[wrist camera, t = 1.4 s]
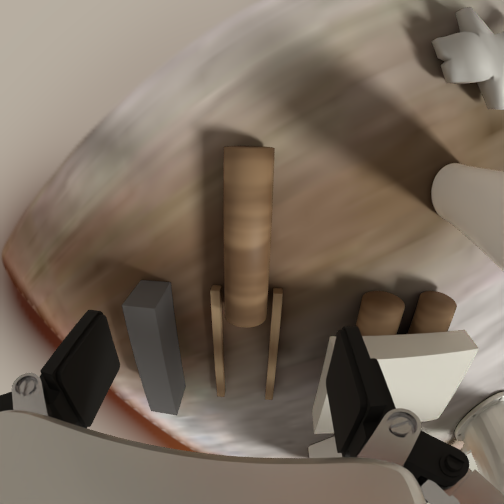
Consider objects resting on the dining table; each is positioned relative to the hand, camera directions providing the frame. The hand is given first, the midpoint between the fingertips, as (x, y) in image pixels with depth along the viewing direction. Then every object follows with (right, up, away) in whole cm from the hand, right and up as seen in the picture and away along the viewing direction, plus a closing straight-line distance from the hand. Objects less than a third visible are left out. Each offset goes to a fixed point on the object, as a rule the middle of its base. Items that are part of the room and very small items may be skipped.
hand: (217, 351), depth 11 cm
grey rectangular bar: (-8, -5, +19) cm, 21 cm away
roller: (+1, +6, +14) cm, 15 cm away
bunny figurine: (+24, +22, +6) cm, 33 cm away
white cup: (+19, +9, +11) cm, 24 cm away
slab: (+15, -8, +14) cm, 22 cm away
